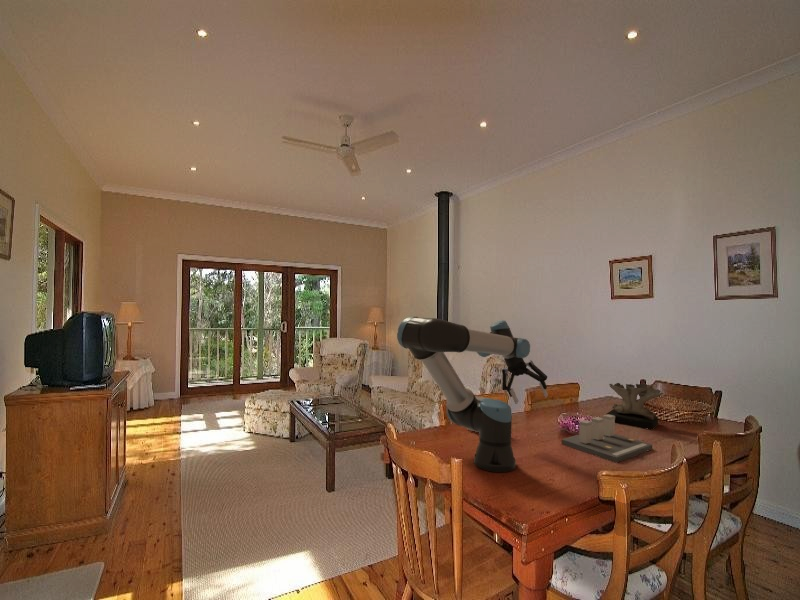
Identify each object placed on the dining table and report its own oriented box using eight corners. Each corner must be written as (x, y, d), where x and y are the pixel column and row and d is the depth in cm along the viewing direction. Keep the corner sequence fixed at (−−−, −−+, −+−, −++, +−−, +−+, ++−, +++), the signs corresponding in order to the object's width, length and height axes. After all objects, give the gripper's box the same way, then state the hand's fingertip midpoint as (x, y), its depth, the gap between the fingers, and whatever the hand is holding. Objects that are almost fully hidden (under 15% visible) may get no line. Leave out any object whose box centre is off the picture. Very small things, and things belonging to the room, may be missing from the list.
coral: (666, 425, 206) (666, 383, 207) (656, 434, 192) (657, 389, 192) (612, 415, 224) (613, 376, 224) (600, 423, 209) (601, 381, 209)
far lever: (609, 436, 180) (610, 417, 180) (602, 434, 183) (603, 415, 183) (614, 435, 182) (615, 415, 182) (607, 433, 185) (608, 414, 185)
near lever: (585, 443, 170) (586, 423, 170) (578, 441, 173) (579, 421, 173) (591, 442, 173) (592, 421, 173) (584, 439, 175) (585, 419, 175)
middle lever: (598, 440, 175) (598, 420, 175) (591, 438, 178) (591, 418, 178) (603, 438, 177) (603, 418, 178) (596, 436, 180) (596, 416, 180)
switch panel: (616, 462, 157) (616, 457, 157) (561, 443, 177) (561, 439, 177) (652, 449, 172) (652, 444, 172) (597, 433, 192) (598, 429, 192)
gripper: (541, 344, 173) (561, 389, 173) (488, 359, 186) (507, 401, 187) (537, 350, 167) (558, 397, 167) (483, 365, 180) (503, 409, 180)
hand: (531, 399), depth 177 cm, fingers open, 13 cm apart
